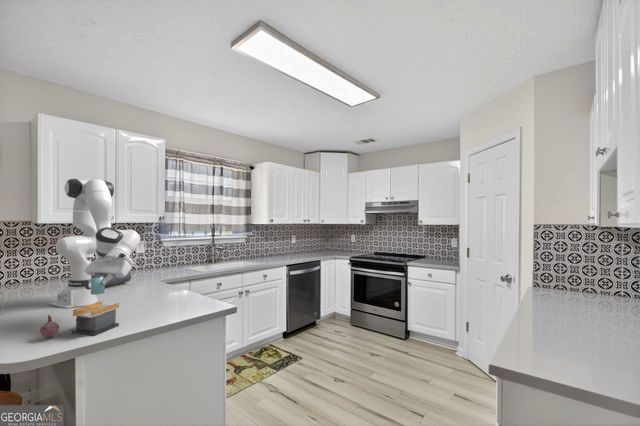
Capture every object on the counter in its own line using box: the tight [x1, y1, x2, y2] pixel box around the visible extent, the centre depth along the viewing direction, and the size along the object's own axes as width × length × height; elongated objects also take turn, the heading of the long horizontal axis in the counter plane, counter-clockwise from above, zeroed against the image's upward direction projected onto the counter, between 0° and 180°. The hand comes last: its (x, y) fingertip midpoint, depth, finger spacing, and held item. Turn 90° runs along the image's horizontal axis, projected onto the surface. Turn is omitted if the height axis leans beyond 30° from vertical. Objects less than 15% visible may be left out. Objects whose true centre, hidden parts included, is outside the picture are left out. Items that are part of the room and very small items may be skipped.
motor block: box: [71, 300, 120, 337], centre depth 134 cm, size 14×14×10 cm
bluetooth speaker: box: [105, 270, 132, 289], centre depth 209 cm, size 23×9×10 cm, turn 160°
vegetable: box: [39, 314, 60, 339], centre depth 123 cm, size 6×6×10 cm
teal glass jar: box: [91, 274, 106, 295], centre depth 134 cm, size 5×5×8 cm
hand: (96, 283), depth 133 cm, fingers closed on teal glass jar, 5 cm apart
